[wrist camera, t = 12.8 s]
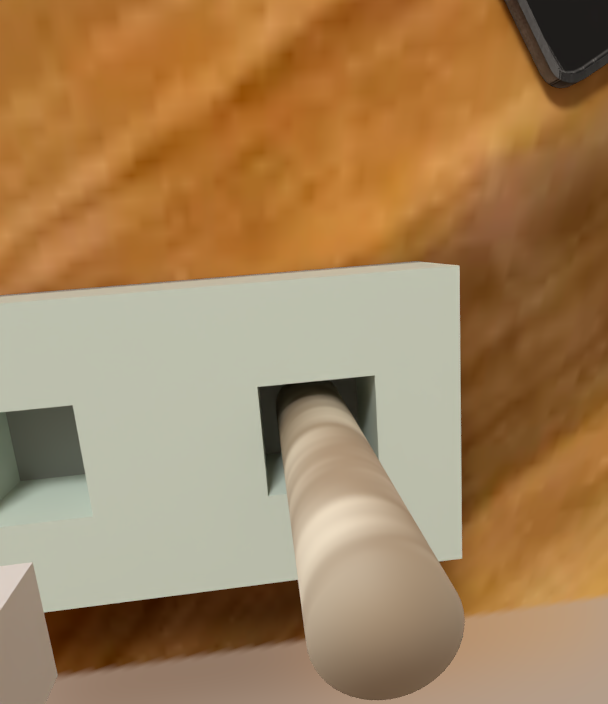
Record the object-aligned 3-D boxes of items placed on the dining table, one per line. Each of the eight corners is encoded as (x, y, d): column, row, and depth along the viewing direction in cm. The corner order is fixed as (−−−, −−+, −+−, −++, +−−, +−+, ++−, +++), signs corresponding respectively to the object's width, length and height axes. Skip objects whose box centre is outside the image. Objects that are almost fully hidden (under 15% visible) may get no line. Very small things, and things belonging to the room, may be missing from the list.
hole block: (-27, 552, 24) (-98, 630, 19) (-87, 302, 21) (-188, 319, 17) (422, 499, 26) (462, 558, 21) (416, 261, 23) (459, 265, 18)
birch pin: (279, 440, 23) (313, 711, 10) (272, 377, 23) (298, 571, 9) (343, 432, 23) (466, 687, 10) (338, 370, 23) (462, 548, 9)
